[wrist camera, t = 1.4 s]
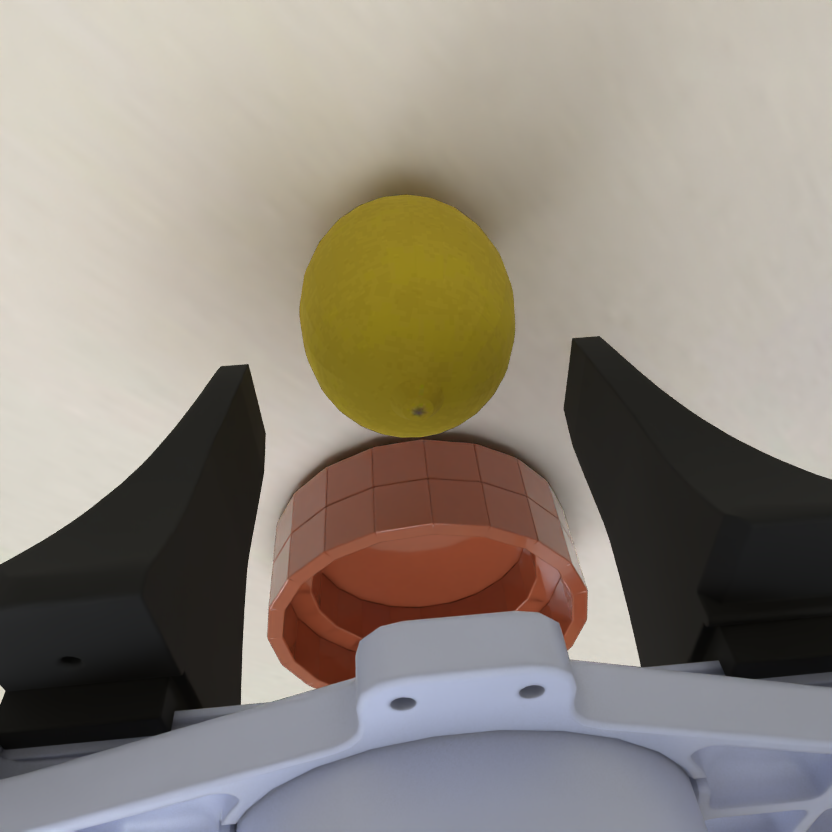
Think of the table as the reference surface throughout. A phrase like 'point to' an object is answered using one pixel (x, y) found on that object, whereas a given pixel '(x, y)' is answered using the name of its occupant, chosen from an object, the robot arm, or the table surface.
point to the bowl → (415, 551)
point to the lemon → (407, 316)
